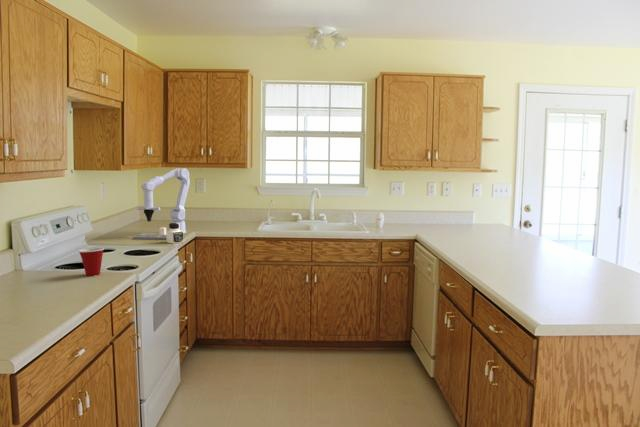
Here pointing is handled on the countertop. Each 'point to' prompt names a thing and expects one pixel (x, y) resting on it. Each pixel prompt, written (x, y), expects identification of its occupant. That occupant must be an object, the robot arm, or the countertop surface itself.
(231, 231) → the countertop surface
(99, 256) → the plastic cup
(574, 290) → the countertop surface
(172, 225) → the medicine bottle
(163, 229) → the fader
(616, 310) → the countertop surface
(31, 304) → the countertop surface
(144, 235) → the console
